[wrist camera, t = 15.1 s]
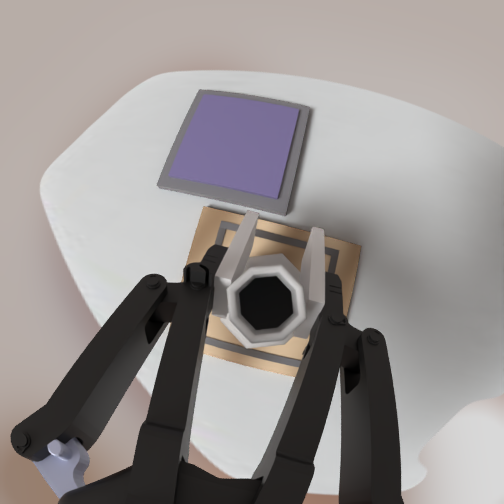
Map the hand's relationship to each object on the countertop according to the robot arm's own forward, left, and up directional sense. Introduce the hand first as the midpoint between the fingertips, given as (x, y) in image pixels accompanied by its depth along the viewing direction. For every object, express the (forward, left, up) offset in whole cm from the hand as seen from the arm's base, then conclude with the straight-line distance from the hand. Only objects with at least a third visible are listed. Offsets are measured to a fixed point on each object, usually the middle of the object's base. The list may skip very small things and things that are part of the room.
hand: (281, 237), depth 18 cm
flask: (0, +4, -4) cm, 6 cm away
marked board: (0, +4, -5) cm, 7 cm away
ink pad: (+6, -9, -5) cm, 12 cm away
